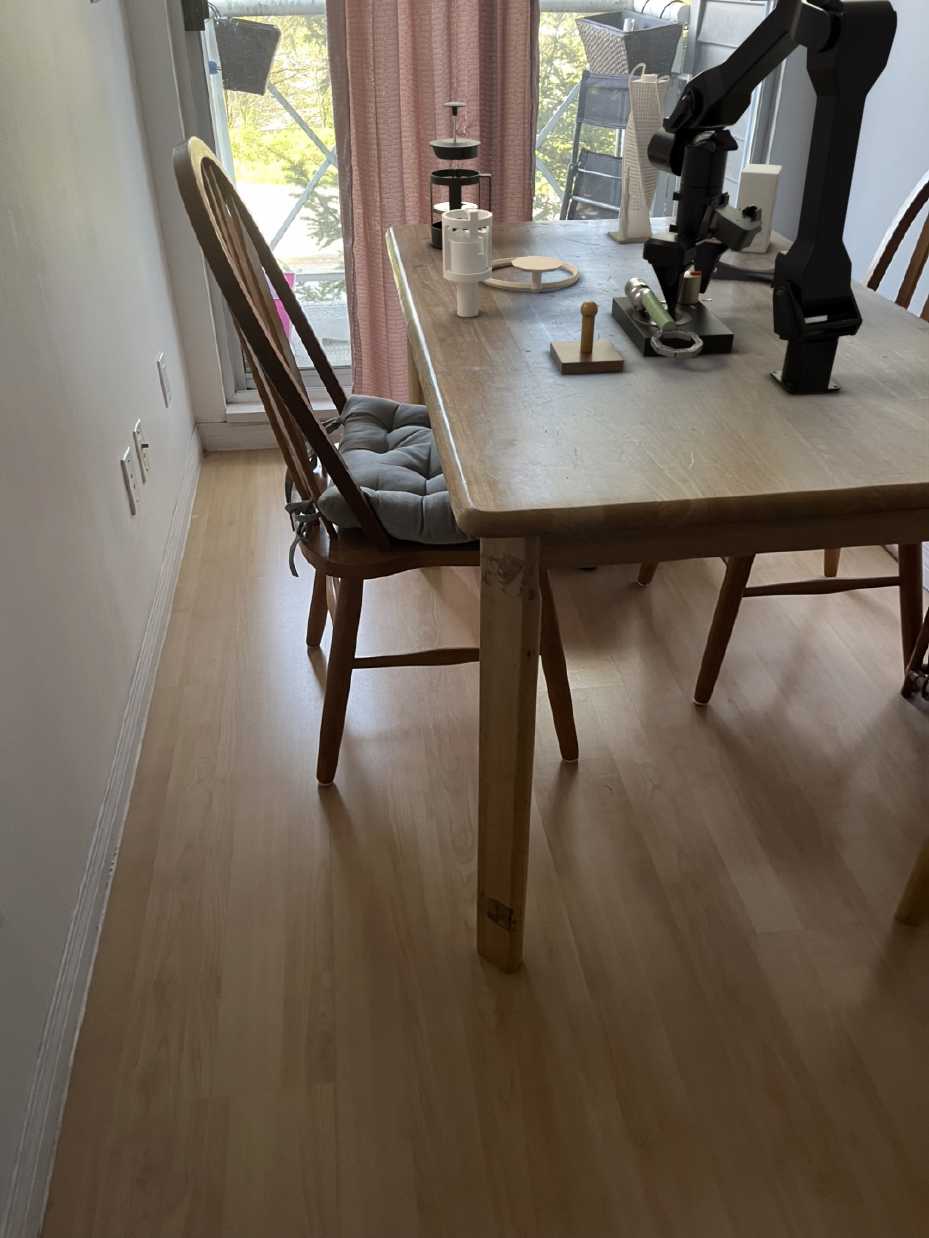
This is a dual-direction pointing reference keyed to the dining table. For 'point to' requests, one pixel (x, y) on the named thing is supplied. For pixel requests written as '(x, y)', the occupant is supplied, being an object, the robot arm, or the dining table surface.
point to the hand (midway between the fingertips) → (686, 300)
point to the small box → (760, 199)
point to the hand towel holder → (534, 273)
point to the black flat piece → (741, 273)
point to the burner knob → (690, 288)
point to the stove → (701, 324)
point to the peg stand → (586, 349)
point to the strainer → (467, 254)
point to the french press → (454, 176)
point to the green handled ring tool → (660, 321)
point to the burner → (676, 314)
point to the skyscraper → (640, 157)
